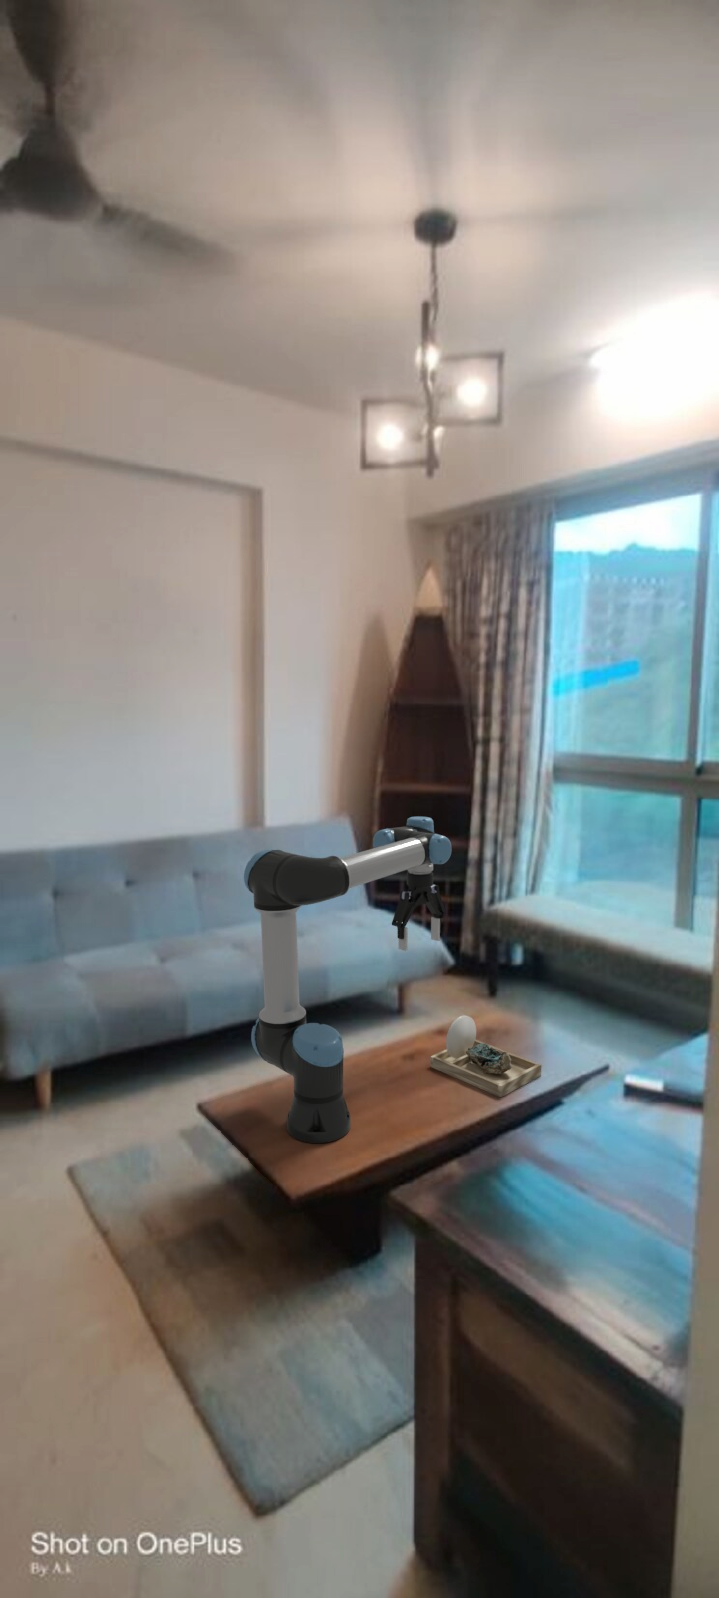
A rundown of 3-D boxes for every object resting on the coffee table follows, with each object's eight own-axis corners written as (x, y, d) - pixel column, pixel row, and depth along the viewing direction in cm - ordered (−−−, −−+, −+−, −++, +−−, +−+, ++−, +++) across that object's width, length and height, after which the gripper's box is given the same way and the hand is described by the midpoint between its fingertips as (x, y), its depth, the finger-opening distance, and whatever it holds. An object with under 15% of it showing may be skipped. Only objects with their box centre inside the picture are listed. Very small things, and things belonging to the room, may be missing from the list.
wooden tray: (500, 1097, 202) (501, 1086, 201) (430, 1066, 219) (430, 1056, 219) (541, 1075, 214) (541, 1064, 213) (471, 1047, 231) (471, 1037, 231)
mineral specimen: (461, 1061, 218) (466, 1039, 214) (484, 1050, 223) (490, 1028, 220) (491, 1091, 210) (498, 1069, 206) (515, 1079, 215) (522, 1057, 211)
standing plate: (448, 1064, 218) (449, 1022, 217) (445, 1063, 219) (446, 1021, 217) (475, 1051, 226) (476, 1011, 225) (473, 1050, 227) (473, 1010, 226)
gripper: (398, 880, 212) (398, 957, 214) (458, 867, 229) (457, 938, 231) (379, 875, 217) (379, 950, 220) (439, 863, 234) (438, 933, 237)
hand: (419, 944), depth 225 cm, fingers open, 13 cm apart
